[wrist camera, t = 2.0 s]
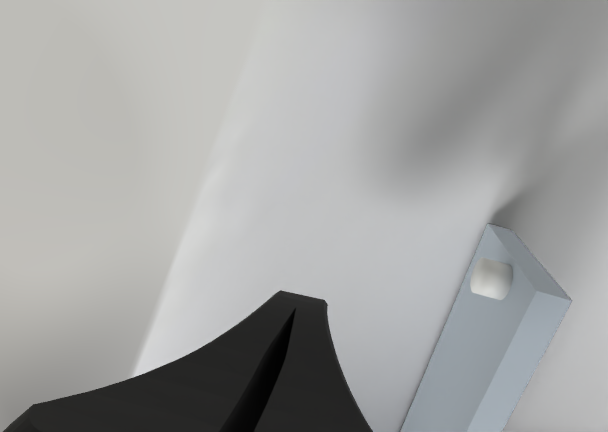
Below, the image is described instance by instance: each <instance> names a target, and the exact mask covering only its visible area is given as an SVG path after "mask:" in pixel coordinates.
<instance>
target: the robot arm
mask: <svg viewBox="0 0 608 432" xmlns="http://www.w3.org/2000/svg"><path fill="white" fill-rule="evenodd" d="M327 306H328V305H327V303H326V302H325V300H322V299H317V298H313V297H308V296H303V295H299V294H294V293H290V292H285V291H279V292H277V293H276V294H275V295H273V296H272V297H271V298H270V299H269V300H268V301H267V302H265V303H264V304H263V305H262V306H261V307H259V308H258V309H257V310H256V311H254V312H253V313H252V314H251V315H249V316H248V317H247V318H245V319H244V320H243V321H241V322H240V323H239V324H237V325H236V326H234V327H233V328H231V329H230V330H228V331H227V332H225V333H224V334H222V335H221V336H219V337H218V338H216V339H215V340H213V341H212V342H210V343H208V344H206V345H205V346H203V347H201V348H200V349H198V350H196V351H194V352H192V353H190V354H188V355H186V356H184V357H182V358H180V359H178V360H176V361H173V362H171V363H168V364H166V365H164V366H161V367H159V368H157V369H154V370H152V371H149V372H147V373H145V374H142V375H139V376H136V377H134V378H131V379H128V380H125V381H122V382H119V383H116V384H112V385H109V386H106V387H103V388H99V389H96V390H92V391H89V392H85V393H81V394H77V395H72V396H69V397H64V398H60V399H56V400H52V401H48V402H43V403H38V404H33V405H32V406H31V407H30V408H29V409H28V410H26V411H25V412H24V413H23V414H22V415H21V416H20V417H18V418H17V419H16V420H15V421H14V422H13V423H11V424H10V425H9V426H8V427H7V428H6V429H5V430H4V431H3V432H373V431H372V430H371V428H370V426H369V425H368V423H367V422H366V420H365V418H364V416H363V414H362V413H361V411H360V409H359V407H358V405H357V403H356V401H355V399H354V397H353V395H352V393H351V391H350V389H349V387H348V384H347V382H346V380H345V377H344V375H343V372H342V369H341V367H340V364H339V361H338V358H337V355H336V352H335V349H334V345H333V341H332V338H331V334H330V329H329V324H328V317H327Z"/></svg>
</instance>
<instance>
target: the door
mask: <svg viewBox="0 0 608 432" xmlns="http://www.w3.org/2000/svg"><path fill="white" fill-rule="evenodd" d="M571 302H572V300H571V299H570V298H569V297H568V295H567V294H566V293H565V292H564V291H563V289H562V288H561V287H560V286H559V285H558V284H557V282H556V281H555V280H554V279H553V278H552V277H551V275H550V274H549V273H548V272H547V271H546V269H545V268H544V267H543V266H542V265H541V264H540V262H539V261H538V260H537V259H536V258H535V257H534V255H533V254H532V253H531V252H530V251H529V249H528V248H527V247H526V246H525V245H524V244H523V242H522V241H521V240H520V239H519V238H518V237H517V235H516V234H515V233H514V232H513V231H512V230H510V229H506V228H503V227H499V226H495V225H492V224H487V226H486V229H485V231H484V233H483V236H482V238H481V241H480V243H479V245H478V248H477V250H476V252H475V255H474V257H473V260H472V262H471V264H470V267H469V269H468V271H467V274H466V276H465V279H464V281H463V283H462V286H461V288H460V291H459V293H458V295H457V298H456V300H455V302H454V305H453V307H452V310H451V312H450V314H449V317H448V319H447V321H446V324H445V326H444V329H443V331H442V333H441V336H440V338H439V340H438V343H437V345H436V348H435V350H434V352H433V355H432V357H431V360H430V362H429V364H428V367H427V369H426V371H425V374H424V376H423V379H422V381H421V383H420V386H419V388H418V390H417V393H416V395H415V398H414V400H413V402H412V405H411V407H410V410H409V412H408V414H407V417H406V419H405V421H404V424H403V426H402V429H401V431H400V432H502V431H503V429H504V427H505V425H506V423H507V421H508V419H509V418H510V416H511V414H512V412H513V410H514V408H515V406H516V405H517V403H518V401H519V399H520V397H521V395H522V393H523V392H524V390H525V388H526V386H527V384H528V382H529V380H530V379H531V377H532V375H533V373H534V371H535V369H536V367H537V366H538V364H539V362H540V360H541V358H542V356H543V354H544V353H545V351H546V349H547V347H548V345H549V343H550V341H551V340H552V338H553V336H554V334H555V332H556V330H557V328H558V326H559V325H560V323H561V321H562V319H563V317H564V315H565V313H566V312H567V310H568V308H569V306H570V304H571Z"/></svg>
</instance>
